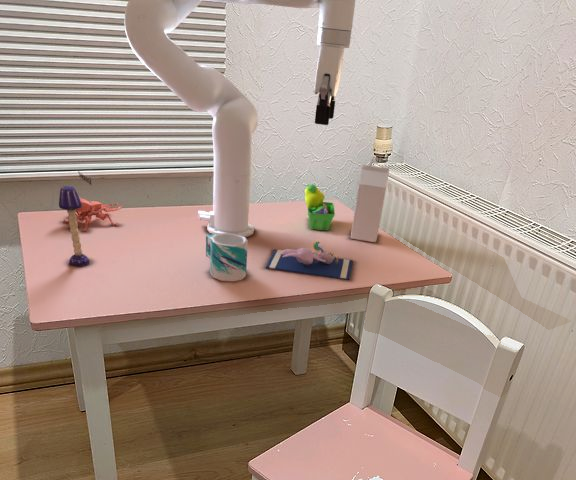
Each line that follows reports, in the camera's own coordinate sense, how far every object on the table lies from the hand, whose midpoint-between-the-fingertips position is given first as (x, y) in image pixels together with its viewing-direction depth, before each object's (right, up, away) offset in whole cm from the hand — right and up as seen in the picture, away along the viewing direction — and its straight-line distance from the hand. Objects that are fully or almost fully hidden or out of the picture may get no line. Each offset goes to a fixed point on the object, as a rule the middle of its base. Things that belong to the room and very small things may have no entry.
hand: (324, 121), depth 139 cm
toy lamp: (-56, -36, -8) cm, 67 cm away
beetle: (-60, -21, +14) cm, 65 cm away
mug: (-24, -37, -5) cm, 44 cm away
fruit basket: (0, -17, +28) cm, 33 cm away
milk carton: (+13, -22, +23) cm, 34 cm away
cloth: (-3, -34, +2) cm, 34 cm away
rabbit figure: (-4, -34, +1) cm, 35 cm away
